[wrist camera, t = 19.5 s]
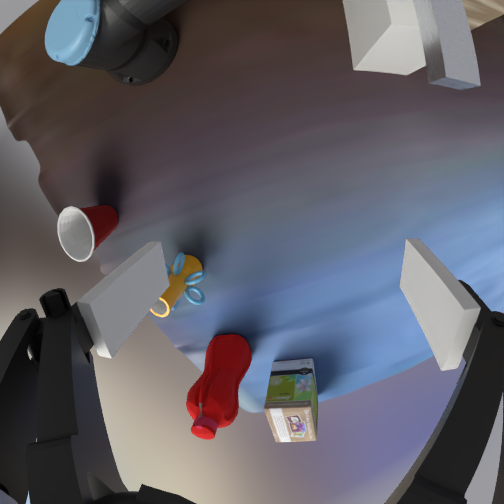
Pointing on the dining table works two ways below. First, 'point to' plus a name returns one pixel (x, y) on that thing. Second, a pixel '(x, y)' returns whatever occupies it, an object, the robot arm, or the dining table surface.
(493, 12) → the zigzag patterned box
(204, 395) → the water bottle
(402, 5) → the tall white box
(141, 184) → the dining table surface
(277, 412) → the green printed box
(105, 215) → the plastic cup
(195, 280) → the yellow and blue cylinder
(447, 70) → the bar
